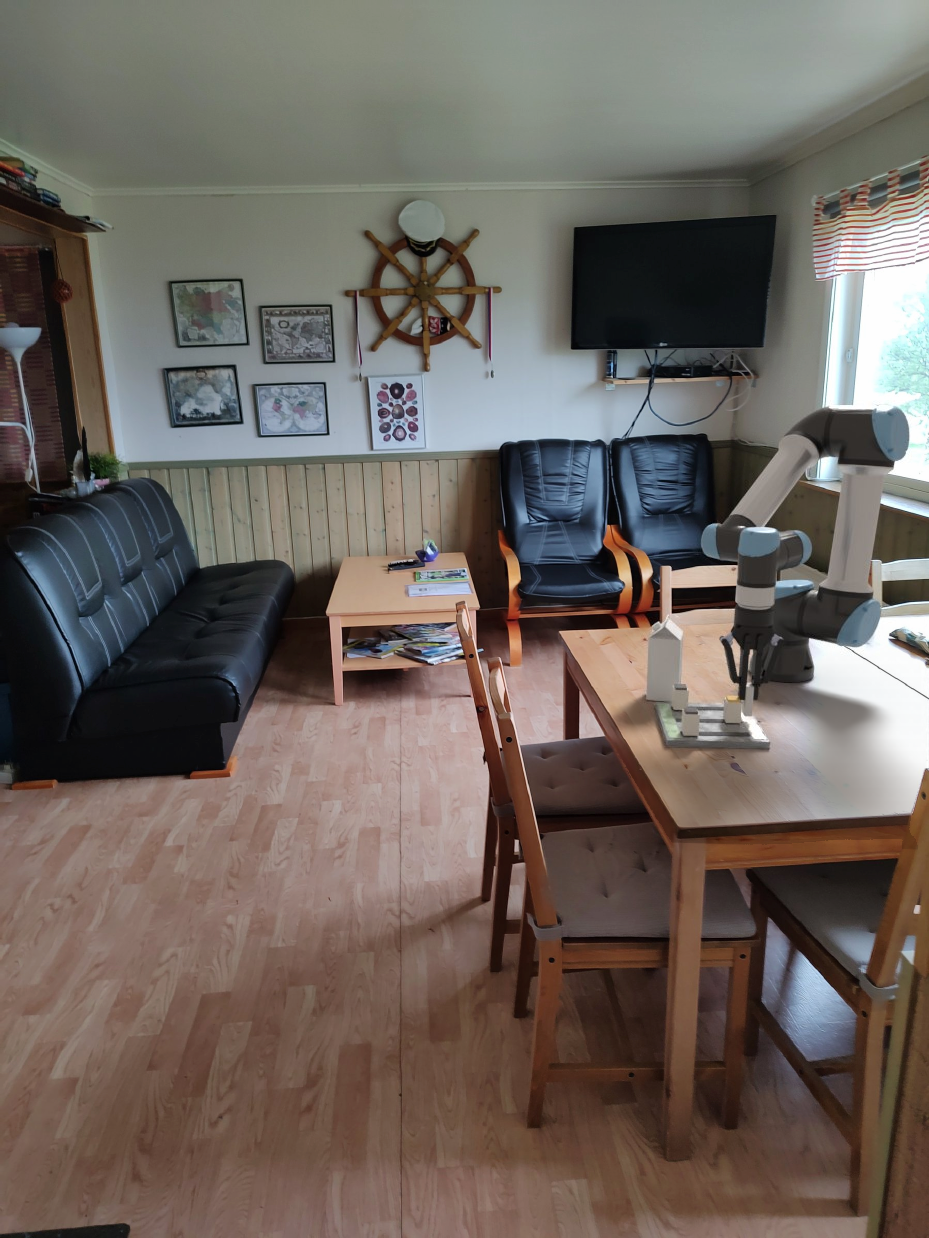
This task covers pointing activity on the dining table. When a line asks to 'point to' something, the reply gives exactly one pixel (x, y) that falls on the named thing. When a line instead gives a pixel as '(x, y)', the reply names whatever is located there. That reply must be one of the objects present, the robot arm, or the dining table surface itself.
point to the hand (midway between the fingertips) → (746, 713)
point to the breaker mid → (732, 709)
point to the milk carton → (664, 660)
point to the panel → (710, 728)
